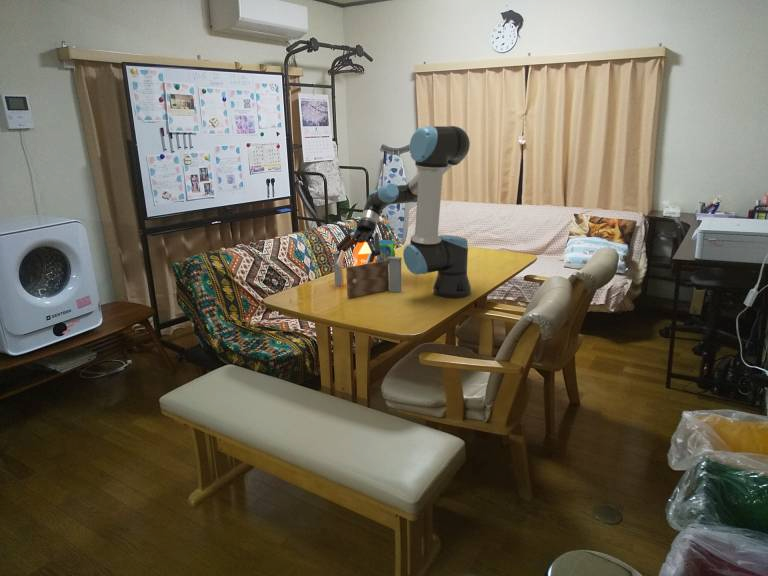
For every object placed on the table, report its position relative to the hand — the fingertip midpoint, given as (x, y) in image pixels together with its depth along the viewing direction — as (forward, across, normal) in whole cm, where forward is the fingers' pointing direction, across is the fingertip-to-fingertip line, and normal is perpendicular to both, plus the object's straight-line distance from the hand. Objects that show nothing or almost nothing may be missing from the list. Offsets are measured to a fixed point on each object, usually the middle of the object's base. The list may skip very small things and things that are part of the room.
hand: (352, 266), depth 215 cm
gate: (+8, -8, -6) cm, 13 cm away
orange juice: (0, 0, -16) cm, 16 cm away
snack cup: (-29, +9, -45) cm, 54 cm away
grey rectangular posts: (+3, -3, -12) cm, 13 cm away
